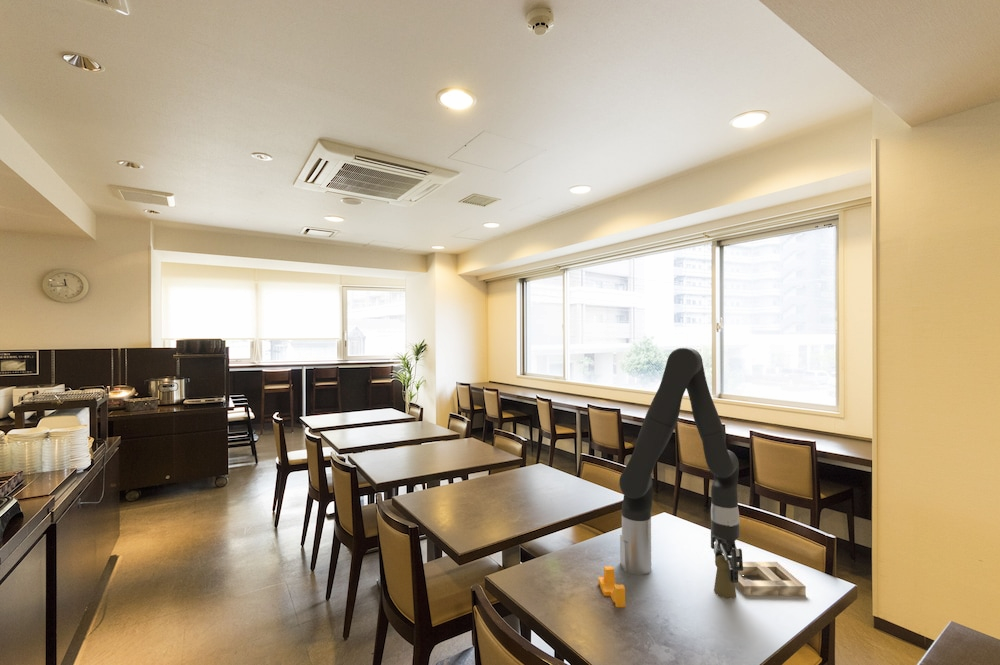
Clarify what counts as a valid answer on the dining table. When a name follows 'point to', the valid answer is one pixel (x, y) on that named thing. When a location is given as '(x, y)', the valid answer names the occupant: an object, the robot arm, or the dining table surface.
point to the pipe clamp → (612, 587)
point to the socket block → (768, 580)
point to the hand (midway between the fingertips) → (726, 574)
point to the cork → (723, 579)
